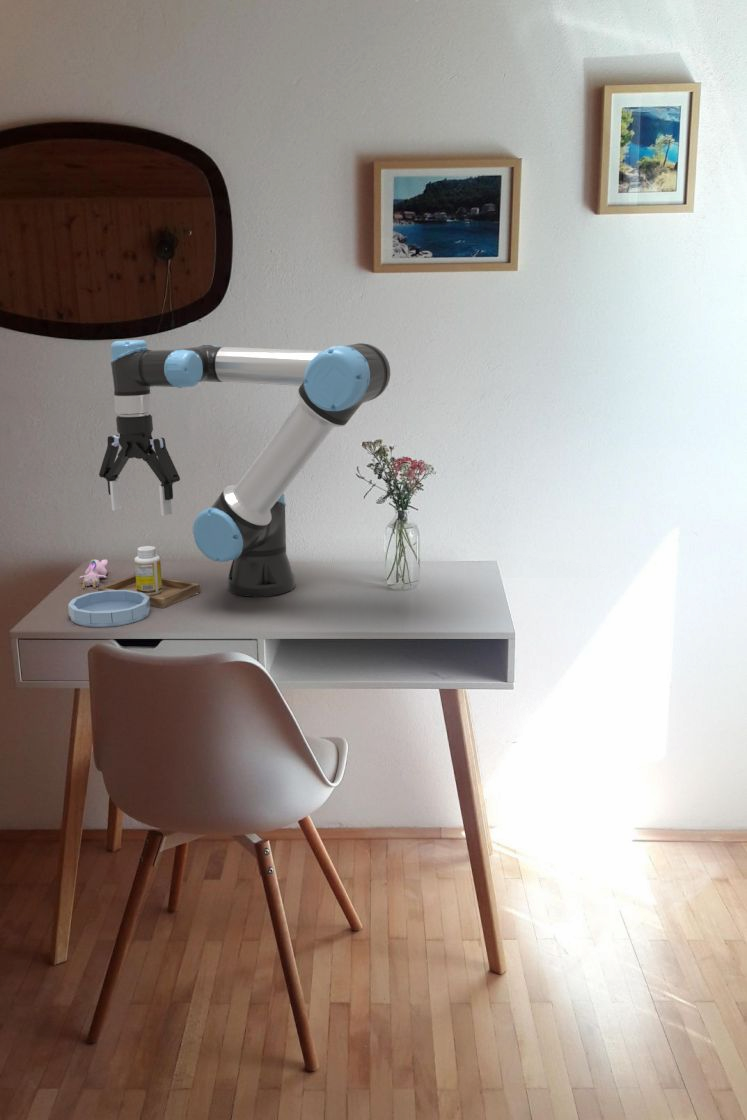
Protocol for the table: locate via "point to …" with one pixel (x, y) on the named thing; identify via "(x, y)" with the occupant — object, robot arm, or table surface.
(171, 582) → the tray
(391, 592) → the table surface
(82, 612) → the bowl
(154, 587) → the supplement bottle
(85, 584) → the rabbit figure
